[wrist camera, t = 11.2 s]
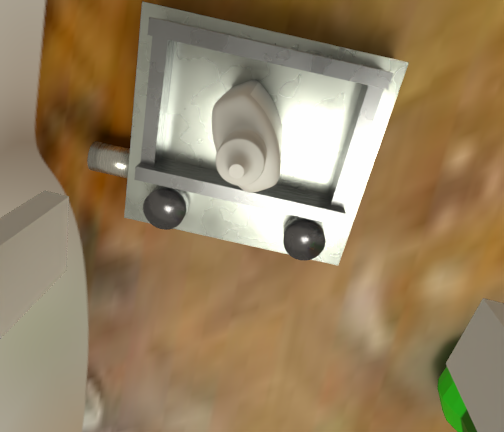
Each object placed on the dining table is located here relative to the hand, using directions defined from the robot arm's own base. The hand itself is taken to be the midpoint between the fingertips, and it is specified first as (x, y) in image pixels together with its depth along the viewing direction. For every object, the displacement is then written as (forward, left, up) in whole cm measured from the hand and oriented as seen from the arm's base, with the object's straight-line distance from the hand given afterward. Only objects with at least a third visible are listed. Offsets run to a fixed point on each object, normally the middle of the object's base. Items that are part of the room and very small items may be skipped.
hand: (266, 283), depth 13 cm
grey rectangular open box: (+1, -4, -22) cm, 23 cm away
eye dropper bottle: (-1, -2, -19) cm, 19 cm away
